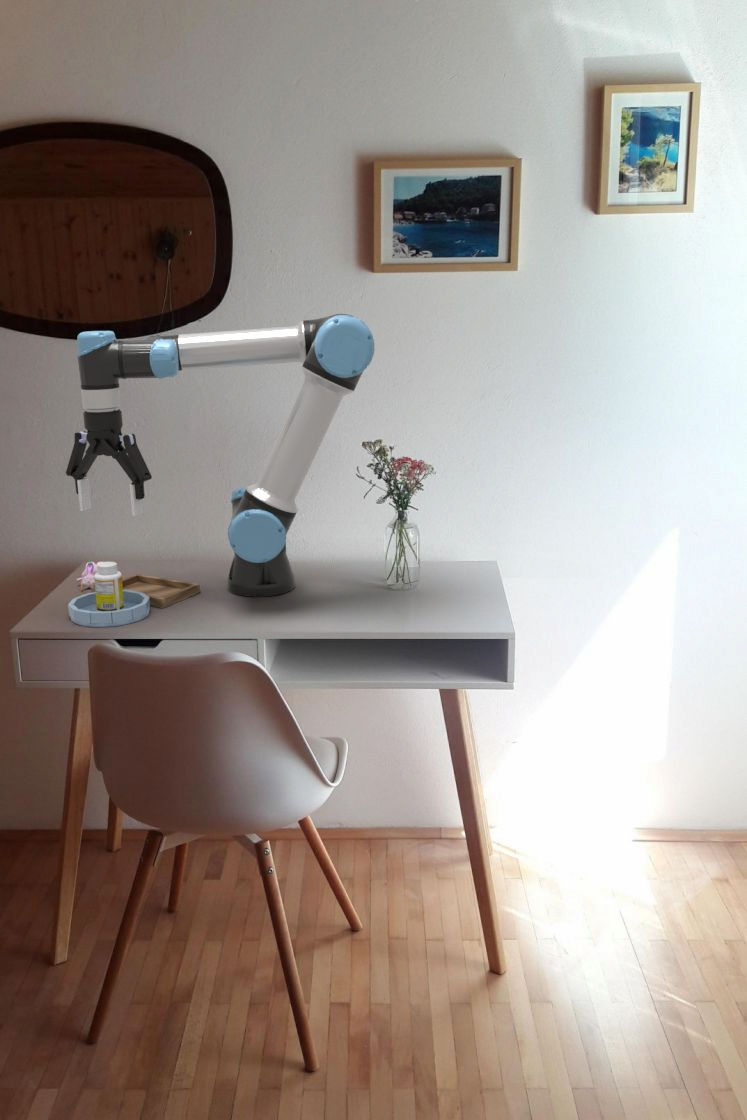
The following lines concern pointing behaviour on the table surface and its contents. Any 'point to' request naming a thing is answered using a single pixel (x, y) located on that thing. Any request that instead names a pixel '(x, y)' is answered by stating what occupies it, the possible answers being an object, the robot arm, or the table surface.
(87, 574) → the rabbit figure
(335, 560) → the table surface
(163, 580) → the tray
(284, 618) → the table surface
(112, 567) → the supplement bottle
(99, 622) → the bowl
